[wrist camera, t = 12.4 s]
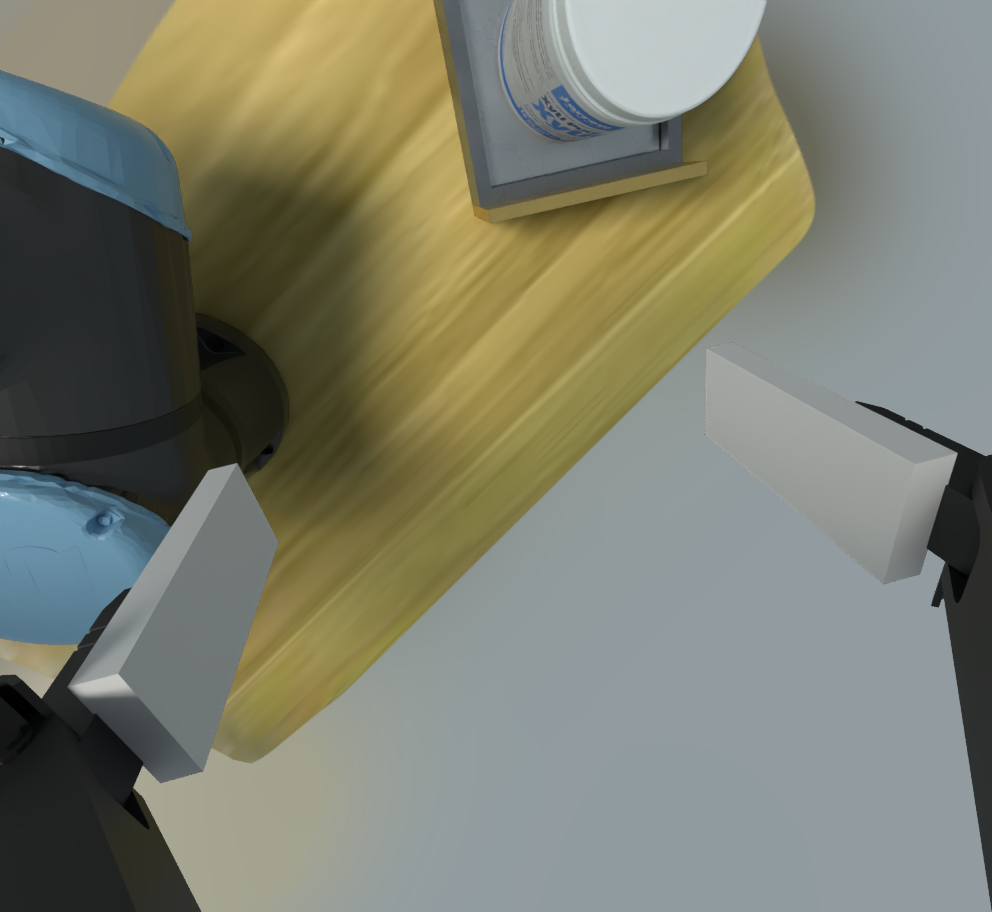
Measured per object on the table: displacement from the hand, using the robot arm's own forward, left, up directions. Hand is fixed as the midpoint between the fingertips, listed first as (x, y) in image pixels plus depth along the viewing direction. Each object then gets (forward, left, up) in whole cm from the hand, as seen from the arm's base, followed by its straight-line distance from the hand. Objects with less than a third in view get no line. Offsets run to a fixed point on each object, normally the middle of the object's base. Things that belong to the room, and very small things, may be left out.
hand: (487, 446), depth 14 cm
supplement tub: (+12, +11, -29) cm, 33 cm away
